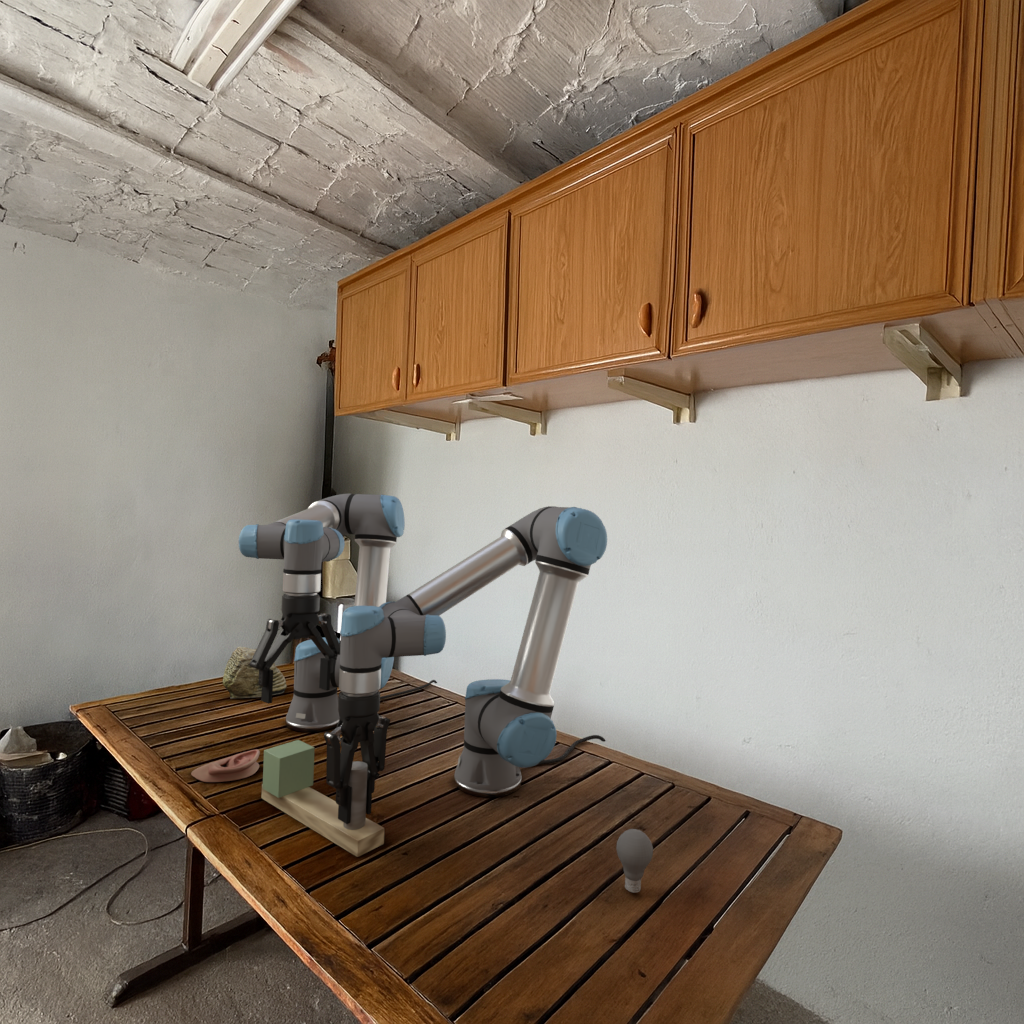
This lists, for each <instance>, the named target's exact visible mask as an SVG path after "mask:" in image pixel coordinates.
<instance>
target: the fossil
mask: <svg viewBox="0 0 1024 1024" xmlns="http://www.w3.org/2000/svg"><path fill="white" fill-rule="evenodd" d="M256 649H257V648H251V647H247V646H246V647H245V646H238V647H237V648H236V649H235V650H233V651H232V653H231V656H230V657H229V659H228V660H227V663H226V666H225V668H224V671H223V675H222V676H223V677H222V685H223V687H224V688H225V690H226V691H228V693H229V698H230V699H250V698H261V693H262V686H259V683H258V682H259V670H258V669H256V668H253V667H251V666H250V662H251V660H252V658H253V655H254V653H255V651H256ZM270 669H271V670H273V691H272V696H275V695H281V694H284V693H285V691H286V689H287V687H288V686H287V680H286V678H285V676H284V674H283V673H282V672H281V669H279V668H278V667H277V665H276V663H275V662H274V664H273V665H272V666H271V668H270Z"/></svg>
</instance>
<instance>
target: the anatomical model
mask: <svg viewBox="0 0 1024 1024" xmlns="http://www.w3.org/2000/svg"><path fill="white" fill-rule="evenodd" d="M260 754H261V752H260V749H257V748H256V749H251V750H247V751H243V752H240V753H236V754H234V755H231V756H228V757H225V758H222V759H219V760H216V761H211V762H209V763H206V764H204V765H201V766H198V767H197V768H195V769H193V770H192V771H191V773H190V775H191V776H192V777H193V778H194V779H196V780H198V781H201V782H203V783H221V782H230V781H231V782H233V781H237V780H241V779H246V778H248V777H250V776H253V775H254V774H256V772H257V771H258V770H259V768H260V764H259V762H258V759H259V757H260Z"/></svg>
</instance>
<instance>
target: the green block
mask: <svg viewBox="0 0 1024 1024" xmlns="http://www.w3.org/2000/svg"><path fill="white" fill-rule="evenodd" d="M314 769H315V747H314V746H313V745H311V744H309V743H307V742H304V741H302V740H299V739H296V740H293V741H290V742H286V743H283V744H280V745H276V746H273V747H270V748H267V749H264V750H263V766H262V771H263V772H262V784H263V789H264V790H266V791H268V792H269V793H271V794H273V795H274V796H276V797H278V798H280V797H283V796H285V795H288V794H291V793H293V792H296V791H299V790H301V789H304V788H307V787H312V786H314V776H315V775H314V774H315V772H314V771H315V770H314Z"/></svg>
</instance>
